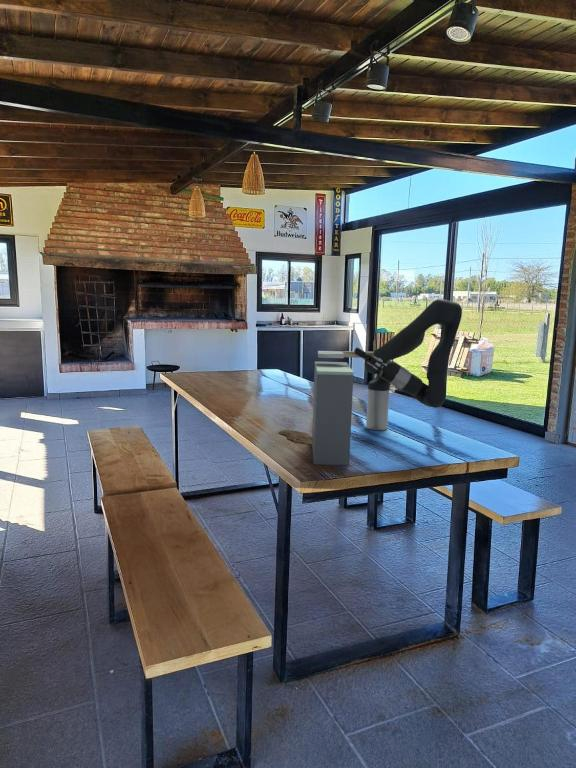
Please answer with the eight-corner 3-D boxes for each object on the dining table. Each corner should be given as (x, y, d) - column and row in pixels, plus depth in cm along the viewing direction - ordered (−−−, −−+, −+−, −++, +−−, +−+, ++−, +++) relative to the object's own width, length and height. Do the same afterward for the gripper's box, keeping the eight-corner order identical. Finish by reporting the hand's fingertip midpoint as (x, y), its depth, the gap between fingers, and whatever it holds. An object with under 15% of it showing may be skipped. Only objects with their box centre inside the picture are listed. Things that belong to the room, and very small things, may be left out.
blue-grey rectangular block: (311, 443, 211) (314, 361, 206) (342, 444, 211) (346, 362, 206) (313, 464, 186) (317, 371, 180) (349, 465, 186) (353, 372, 180)
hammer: (317, 354, 203) (317, 349, 202) (371, 356, 202) (371, 350, 202) (318, 357, 195) (318, 352, 194) (374, 358, 194) (374, 353, 194)
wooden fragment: (274, 431, 229) (274, 429, 229) (298, 429, 233) (298, 427, 233) (299, 448, 206) (299, 445, 206) (325, 445, 210) (325, 443, 210)
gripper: (397, 363, 206) (358, 339, 204) (404, 368, 192) (363, 342, 191) (386, 380, 207) (348, 356, 205) (392, 386, 193) (351, 361, 192)
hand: (355, 349), depth 198 cm, fingers closed on hammer, 2 cm apart
